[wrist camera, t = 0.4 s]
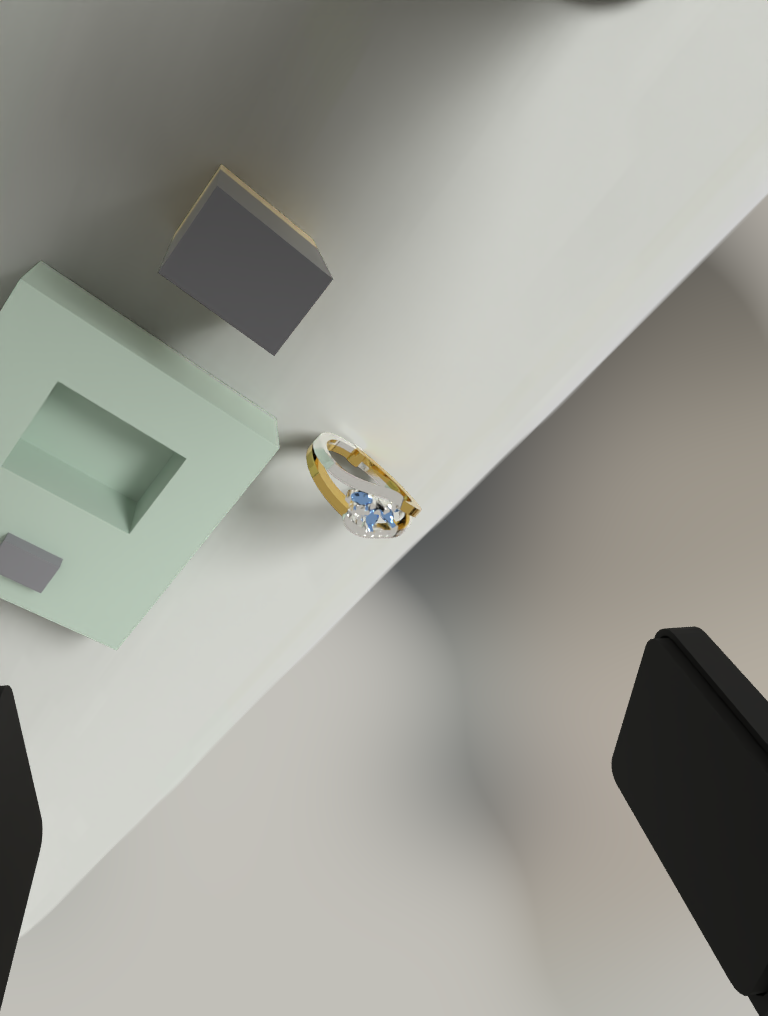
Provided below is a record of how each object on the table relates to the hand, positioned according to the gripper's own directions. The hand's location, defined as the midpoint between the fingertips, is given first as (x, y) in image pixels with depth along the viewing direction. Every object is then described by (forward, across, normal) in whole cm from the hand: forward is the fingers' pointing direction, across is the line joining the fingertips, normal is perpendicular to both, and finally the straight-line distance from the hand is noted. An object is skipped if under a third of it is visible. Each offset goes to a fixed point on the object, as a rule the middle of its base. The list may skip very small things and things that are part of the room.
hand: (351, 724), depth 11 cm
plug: (+31, +1, -2) cm, 31 cm away
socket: (+32, +10, +10) cm, 34 cm away
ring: (+32, -5, +10) cm, 33 cm away
